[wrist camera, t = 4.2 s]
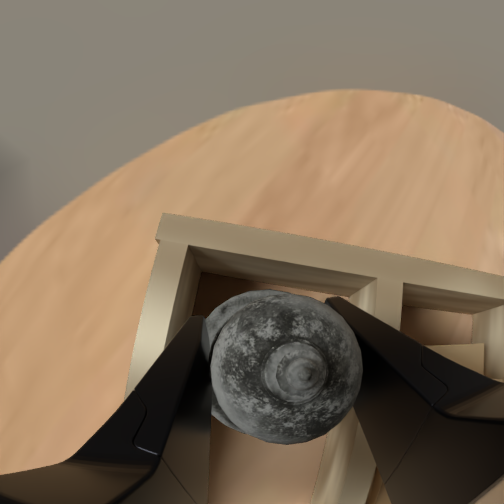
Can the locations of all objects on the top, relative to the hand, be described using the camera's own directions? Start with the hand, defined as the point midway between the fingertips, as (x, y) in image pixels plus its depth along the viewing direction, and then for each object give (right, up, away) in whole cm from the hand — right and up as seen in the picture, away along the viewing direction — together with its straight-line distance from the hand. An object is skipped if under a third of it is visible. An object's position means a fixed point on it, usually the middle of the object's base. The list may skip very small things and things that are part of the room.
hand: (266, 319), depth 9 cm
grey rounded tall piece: (0, -3, +6) cm, 7 cm away
